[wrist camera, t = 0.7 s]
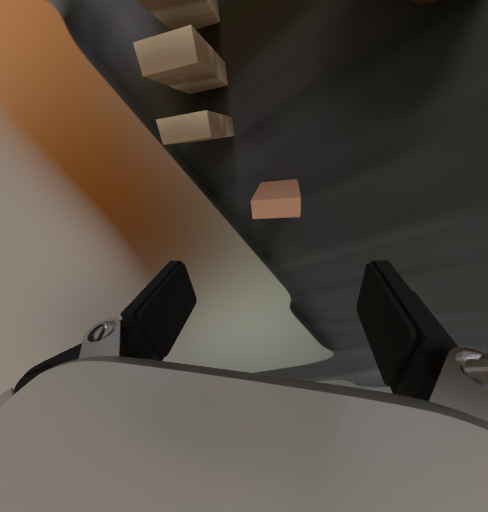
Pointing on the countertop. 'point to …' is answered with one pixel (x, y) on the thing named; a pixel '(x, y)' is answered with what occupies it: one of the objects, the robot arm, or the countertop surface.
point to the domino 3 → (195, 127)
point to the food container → (423, 1)
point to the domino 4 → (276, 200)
